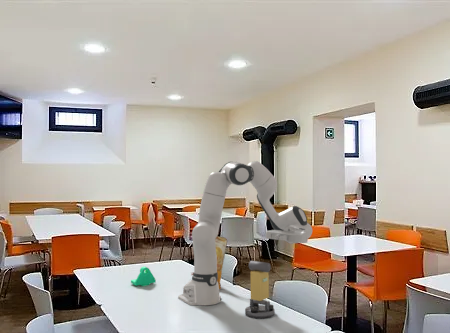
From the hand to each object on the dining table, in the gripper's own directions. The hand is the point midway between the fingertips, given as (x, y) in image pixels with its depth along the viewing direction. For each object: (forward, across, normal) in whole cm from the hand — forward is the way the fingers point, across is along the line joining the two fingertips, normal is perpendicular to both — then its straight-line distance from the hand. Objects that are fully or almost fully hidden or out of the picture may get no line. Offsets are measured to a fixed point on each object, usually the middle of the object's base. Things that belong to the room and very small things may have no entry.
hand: (277, 238), depth 202 cm
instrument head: (+16, +1, +26) cm, 31 cm away
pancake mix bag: (-8, -46, +33) cm, 58 cm away
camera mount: (+13, -81, +34) cm, 88 cm away
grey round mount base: (+16, +1, +31) cm, 35 cm away
